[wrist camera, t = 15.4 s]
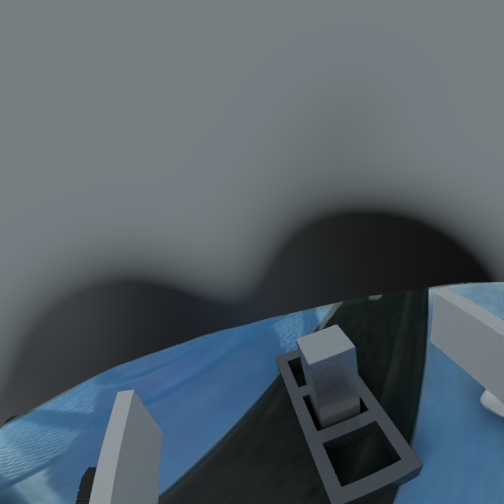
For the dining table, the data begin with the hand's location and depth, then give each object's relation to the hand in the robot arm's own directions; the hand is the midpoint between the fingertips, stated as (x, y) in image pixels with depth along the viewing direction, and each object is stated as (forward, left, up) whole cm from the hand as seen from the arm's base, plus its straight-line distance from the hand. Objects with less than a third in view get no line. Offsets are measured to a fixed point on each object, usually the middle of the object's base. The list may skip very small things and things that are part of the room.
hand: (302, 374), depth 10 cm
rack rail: (+5, +14, -21) cm, 26 cm away
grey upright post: (+5, +14, -21) cm, 26 cm away
